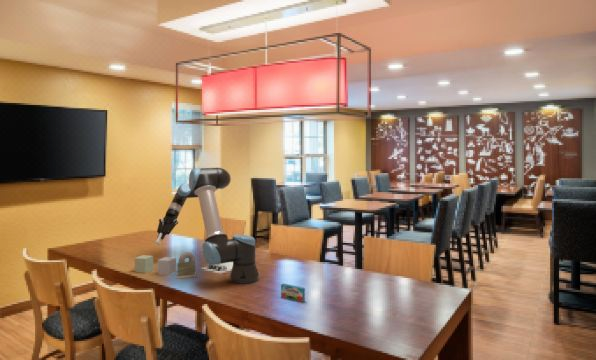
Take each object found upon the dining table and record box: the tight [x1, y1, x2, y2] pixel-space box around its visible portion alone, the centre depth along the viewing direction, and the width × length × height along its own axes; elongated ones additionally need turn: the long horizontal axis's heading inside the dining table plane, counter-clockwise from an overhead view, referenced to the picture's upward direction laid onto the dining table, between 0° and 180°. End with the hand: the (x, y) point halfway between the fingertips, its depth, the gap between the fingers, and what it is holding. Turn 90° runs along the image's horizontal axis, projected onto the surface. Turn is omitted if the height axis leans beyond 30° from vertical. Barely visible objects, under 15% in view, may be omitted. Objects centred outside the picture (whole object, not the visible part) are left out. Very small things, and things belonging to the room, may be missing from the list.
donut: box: [178, 251, 196, 263], centre depth 234 cm, size 10×4×10 cm, turn 134°
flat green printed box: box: [280, 283, 306, 303], centre depth 186 cm, size 12×2×6 cm, turn 57°
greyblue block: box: [157, 256, 177, 276], centre depth 227 cm, size 7×7×8 cm
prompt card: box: [176, 260, 198, 280], centre depth 220 cm, size 4×10×8 cm, turn 109°
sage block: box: [134, 254, 155, 274], centre depth 231 cm, size 7×7×8 cm
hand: (157, 243), depth 243 cm, fingers closed
